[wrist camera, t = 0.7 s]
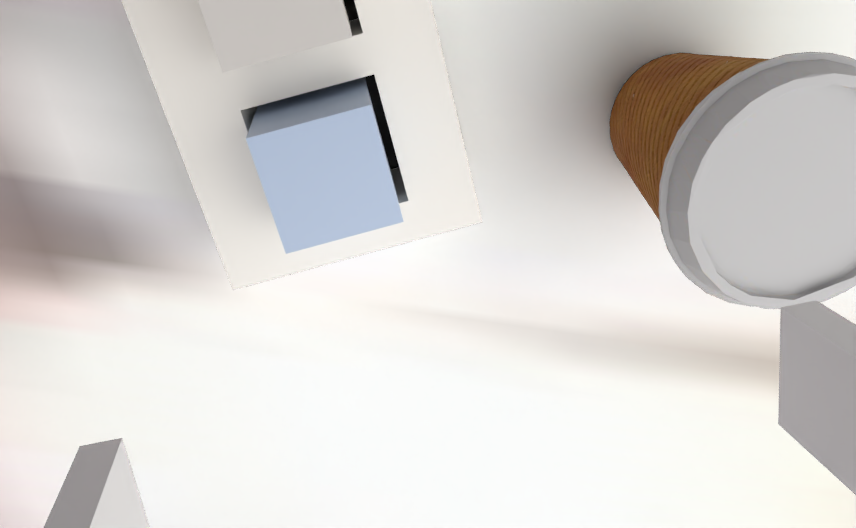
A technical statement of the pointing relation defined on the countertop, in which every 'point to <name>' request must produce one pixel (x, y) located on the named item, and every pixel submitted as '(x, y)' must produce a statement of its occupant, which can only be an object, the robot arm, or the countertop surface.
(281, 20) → the key grey
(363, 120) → the key blue
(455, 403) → the countertop surface
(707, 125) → the disposable coffee cup
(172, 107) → the keypad base
